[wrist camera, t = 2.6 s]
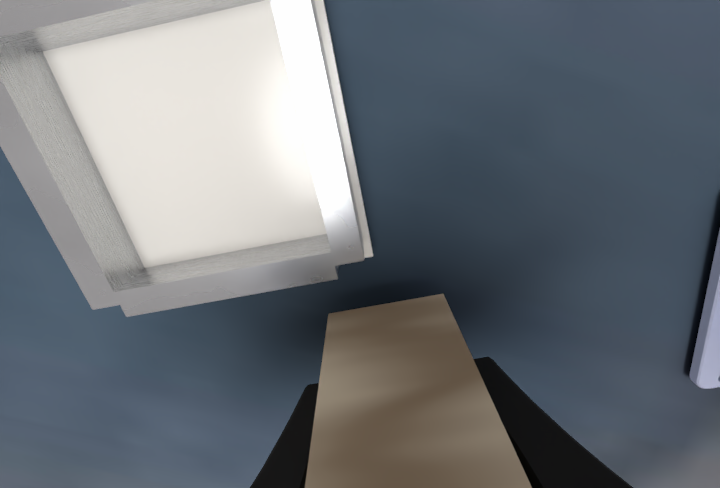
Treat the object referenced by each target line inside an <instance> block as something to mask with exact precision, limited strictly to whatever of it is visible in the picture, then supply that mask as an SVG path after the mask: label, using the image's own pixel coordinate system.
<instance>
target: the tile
mask: <svg viewBox="0 0 720 488" xmlns="http://www.w3.org/2000/svg"><path fill="white" fill-rule="evenodd" d="M315 5H316V10H317V15H318V20H319V25H320V30H321V35H322V40H323V44H324V49H325V54H326V59H327V64H328V69H329V74H330V79H331V84H332V89H333V94H334V98H335V103H336V108H337V113H338V118H339V123H340V128H341V133H342V138H343V143H344V147H345V152H346V157H347V162H348V167H349V172H350V177H351V182H352V187H353V192H354V197H355V201H356V206H357V211H358V216H359V221H360V226H361V231H362V236H363V243H364V258H367V257H373V249H372V243H371V238H370V233H369V228H368V223H367V218H366V212H365V207H364V202H363V197H362V192H361V187H360V182H359V177H358V171H357V166H356V161H355V156H354V151H353V146H352V141H351V136H350V130H349V125H348V120H347V115H346V110H345V105H344V100H343V95H342V89H341V84H340V79H339V74H338V69H337V64H336V59H335V54H334V48H333V43H332V38H331V33H330V28H329V23H328V18H327V13H326V7H325V2H324V0H315ZM43 54H44V56H45V58H46V60H47V62H48V64H49V66H50V69H51V71H52V73H53V75H54V77H55V79H56V81H57V83H58V85H59V88H60V90H61V92H62V94H63V96H64V98H65V100H66V102H67V104H68V107H69V109H70V111H71V113H72V115H73V117H74V119H75V121H76V124H77V126H78V128H79V130H80V132H81V134H82V136H83V138H84V140H85V143H86V145H87V147H88V149H89V151H90V153H91V155H92V157H93V159H94V162H95V164H96V166H97V168H98V170H99V172H100V174H101V176H102V179H103V181H104V183H105V185H106V187H107V189H108V191H109V193H110V195H111V198H112V200H113V202H114V204H115V206H116V208H117V210H118V212H119V214H120V217H121V219H122V221H123V223H124V225H125V227H126V229H127V231H128V234H129V236H130V238H131V240H132V242H133V244H134V246H135V248H136V250H137V253H138V255H139V257H140V259H141V261H142V263H143V265H144V267H145V268H147V267H152V266H157V265H163V264H168V263H173V262H179V261H184V260H189V259H195V258H200V257H206V256H211V255H216V254H222V253H227V252H232V251H238V250H243V249H248V248H254V247H259V246H264V245H270V244H275V243H280V242H286V241H291V240H296V239H302V238H307V237H312V236H318V235H323V234H327V232H326V228H325V224H324V220H323V216H322V212H321V208H320V204H319V200H318V196H317V192H316V187H315V183H314V179H313V175H312V171H311V167H310V163H309V159H308V155H307V151H306V147H305V142H304V138H303V134H302V130H301V126H300V122H299V118H298V114H297V110H296V106H295V102H294V97H293V93H292V89H291V85H290V81H289V77H288V73H287V69H286V65H285V61H284V57H283V52H282V48H281V44H280V40H279V36H278V32H277V28H276V24H275V20H274V16H273V12H272V7H271V3H270V0H264V1H260V2H255V3H251V4H247V5H242V6H238V7H234V8H229V9H225V10H221V11H216V12H212V13H208V14H203V15H199V16H195V17H190V18H186V19H182V20H177V21H173V22H169V23H164V24H160V25H156V26H151V27H147V28H143V29H138V30H134V31H130V32H125V33H121V34H117V35H112V36H108V37H104V38H99V39H95V40H91V41H86V42H82V43H77V44H73V45H69V46H64V47H60V48H56V49H51V50H47V51H43Z"/></svg>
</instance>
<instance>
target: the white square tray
mask: <svg viewBox="0 0 720 488" xmlns="http://www.w3.org/2000/svg"><path fill="white" fill-rule="evenodd" d="M260 1H264V0H0V146H1V148H2V150H3V152H4V153H5V155H6V157H7V159H8V161H9V162H10V164H11V166H12V168H13V169H14V171H15V173H16V175H17V176H18V178H19V180H20V182H21V184H22V185H23V187H24V189H25V191H26V192H27V194H28V196H29V198H30V200H31V201H32V203H33V205H34V207H35V208H36V210H37V212H38V214H39V216H40V217H41V219H42V221H43V223H44V224H45V226H46V228H47V230H48V231H49V233H50V235H51V237H52V239H53V240H54V242H55V244H56V246H57V247H58V249H59V251H60V253H61V255H62V256H63V258H64V260H65V262H66V263H67V265H68V267H69V269H70V271H71V272H72V274H73V276H74V278H75V279H76V281H77V283H78V285H79V287H80V288H81V290H82V292H83V294H84V295H85V297H86V299H87V301H88V302H89V304H90V306H91V308H92V310H94V309H100V308H105V307H111V306H116V305H120V306H121V308H122V310H123V311H124V313H125V315H126V317H129V316H135V315H140V314H146V313H152V312H157V311H163V310H168V309H174V308H180V307H185V306H191V305H196V304H202V303H207V302H213V301H219V300H224V299H230V298H235V297H241V296H247V295H252V294H258V293H263V292H269V291H274V290H280V289H286V288H291V287H297V286H302V285H308V284H314V283H319V282H325V281H330V280H336V279H338V273H339V265H342V264H348V263H353V262H359V261H364V260H365V259H364V243H363V236H362V231H361V226H360V221H359V216H358V211H357V206H356V201H355V197H354V192H353V187H352V182H351V177H350V172H349V167H348V162H347V157H346V152H345V147H344V143H343V138H342V133H341V128H340V123H339V118H338V113H337V108H336V103H335V98H334V94H333V89H332V84H331V79H330V74H329V69H328V64H327V59H326V54H325V49H324V44H323V40H322V35H321V30H320V25H319V20H318V15H317V10H316V5H315V0H270V3H271V7H272V12H273V16H274V20H275V24H276V28H277V32H278V36H279V40H280V44H281V48H282V52H283V57H284V61H285V65H286V69H287V73H288V77H289V81H290V85H291V89H292V93H293V97H294V102H295V106H296V110H297V114H298V118H299V122H300V126H301V130H302V134H303V138H304V142H305V147H306V151H307V155H308V159H309V163H310V167H311V171H312V175H313V179H314V183H315V187H316V192H317V196H318V200H319V204H320V208H321V212H322V216H323V220H324V224H325V228H326V232H327V234H323V235H318V236H312V237H307V238H302V239H296V240H291V241H286V242H280V243H275V244H270V245H264V246H259V247H254V248H248V249H243V250H238V251H232V252H227V253H222V254H216V255H211V256H206V257H200V258H195V259H189V260H184V261H179V262H173V263H168V264H163V265H157V266H152V267H147V268H145V267H144V265H143V263H142V261H141V259H140V257H139V255H138V253H137V250H136V248H135V246H134V244H133V242H132V240H131V238H130V236H129V234H128V231H127V229H126V227H125V225H124V223H123V221H122V219H121V217H120V214H119V212H118V210H117V208H116V206H115V204H114V202H113V200H112V198H111V195H110V193H109V191H108V189H107V187H106V185H105V183H104V181H103V179H102V176H101V174H100V172H99V170H98V168H97V166H96V164H95V162H94V159H93V157H92V155H91V153H90V151H89V149H88V147H87V145H86V143H85V140H84V138H83V136H82V134H81V132H80V130H79V128H78V126H77V124H76V121H75V119H74V117H73V115H72V113H71V111H70V109H69V107H68V104H67V102H66V100H65V98H64V96H63V94H62V92H61V90H60V88H59V85H58V83H57V81H56V79H55V77H54V75H53V73H52V71H51V69H50V66H49V64H48V62H47V60H46V58H45V56H44V54H43V51H47V50H51V49H56V48H60V47H64V46H69V45H73V44H77V43H82V42H86V41H91V40H95V39H99V38H104V37H108V36H112V35H117V34H121V33H125V32H130V31H134V30H138V29H143V28H147V27H151V26H156V25H160V24H164V23H169V22H173V21H177V20H182V19H186V18H190V17H195V16H199V15H203V14H208V13H212V12H216V11H221V10H225V9H229V8H234V7H238V6H242V5H247V4H251V3H255V2H260Z"/></svg>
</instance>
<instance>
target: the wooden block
mask: <svg viewBox="0 0 720 488" xmlns="http://www.w3.org/2000/svg"><path fill="white" fill-rule="evenodd" d="M305 488H532V487H531V484H530V482H529V480H528V478H527V476H526V473H525V471H524V469H523V467H522V465H521V463H520V460H519V458H518V456H517V454H516V452H515V449H514V447H513V445H512V443H511V441H510V438H509V436H508V434H507V432H506V430H505V428H504V425H503V423H502V421H501V419H500V417H499V414H498V412H497V410H496V408H495V406H494V403H493V401H492V399H491V397H490V395H489V393H488V390H487V388H486V386H485V384H484V382H483V379H482V377H481V375H480V373H479V371H478V368H477V366H476V364H475V362H474V360H473V358H472V355H471V353H470V351H469V349H468V347H467V344H466V342H465V340H464V338H463V336H462V333H461V331H460V329H459V327H458V325H457V323H456V320H455V318H454V316H453V314H452V312H451V309H450V307H449V305H448V303H447V301H446V298H445V296H444V294H438V295H432V296H427V297H421V298H415V299H410V300H404V301H398V302H392V303H387V304H381V305H375V306H369V307H364V308H358V309H352V310H346V311H341V312H335V313H329V314H328V320H327V327H326V335H325V342H324V350H323V357H322V364H321V372H320V379H319V386H318V394H317V401H316V409H315V416H314V423H313V431H312V438H311V445H310V453H309V460H308V468H307V475H306V482H305Z"/></svg>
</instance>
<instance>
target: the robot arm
mask: <svg viewBox="0 0 720 488" xmlns="http://www.w3.org/2000/svg"><path fill="white" fill-rule="evenodd" d="M473 360H474V362H475V364H476V366H477V368H478V371H479V373H480V375H481V377H482V379H483V382H484V384H485V386H486V388H487V390H488V393H489V395H490V397H491V399H492V401H493V403H494V406H495V408H496V410H497V412H498V414H499V417H500V419H501V421H502V423H503V425H504V428H505V430H506V432H507V434H508V436H509V438H510V441H511V443H512V445H513V447H514V449H515V452H516V454H517V456H518V458H519V460H520V463H521V465H522V467H523V469H524V471H525V473H526V476H527V478H528V480H529V482H530V484H531V487H532V488H633V487H632V486H630V485H629V484H628V483H627V482H625V481H624V480H623V479H622V478H620V477H619V476H618V475H616V474H615V473H614V472H613V471H612V470H610V469H609V468H608V467H607V466H605V465H604V464H603V463H602V462H601V461H599V460H598V459H597V458H596V457H595V456H593V455H592V454H591V453H590V452H589V451H588V450H586V449H585V448H584V447H583V446H582V445H580V444H579V443H578V442H577V441H576V440H575V439H574V438H572V437H571V436H570V435H569V434H568V433H567V432H566V431H564V430H563V429H562V428H561V427H560V426H559V425H558V424H557V423H556V422H555V421H554V420H552V419H551V418H550V417H549V416H548V415H547V414H546V413H545V412H544V411H543V410H542V409H541V408H539V407H538V406H537V405H536V404H535V403H534V402H533V401H532V400H531V399H530V398H529V397H528V396H527V395H526V394H525V393H524V392H523V391H522V390H521V389H520V388H519V387H518V386H517V385H516V384H515V383H514V382H513V381H512V380H511V379H510V378H509V377H508V376H507V375H506V373H505V372H504V371H503V370H502V369H501V368H500V367H499V366H498V365H497V364H496V363H495V362H494V360H492V359H491V358H489V357H484V358H478V359H473ZM690 379H691V381H692V382H694V383H695V384H696V385H697V386H698V387H700V388H703V389H709V388H716V387H720V229H719V234H718V239H717V244H716V249H715V253H714V258H713V263H712V268H711V273H710V278H709V282H708V287H707V292H706V297H705V302H704V307H703V312H702V316H701V321H700V326H699V331H698V336H697V341H696V345H695V350H694V355H693V360H692V365H691V370H690ZM318 386H319V383H317V384H311V385H308V386H307V387H306V388H305V390H304V392H303V394H302V396H301V398H300V400H299V402H298V404H297V406H296V408H295V409H294V411H293V413H292V415H291V417H290V419H289V421H288V423H287V425H286V427H285V429H284V430H283V432H282V434H281V436H280V438H279V439H278V441H277V443H276V445H275V447H274V448H273V450H272V452H271V454H270V455H269V457H268V459H267V461H266V462H265V464H264V466H263V468H262V469H261V471H260V473H259V474H258V476H257V477H256V479H255V481H254V482H253V484H252V485H251V487H250V488H305V482H306V475H307V468H308V460H309V453H310V445H311V438H312V431H313V423H314V416H315V409H316V401H317V394H318Z"/></svg>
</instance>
